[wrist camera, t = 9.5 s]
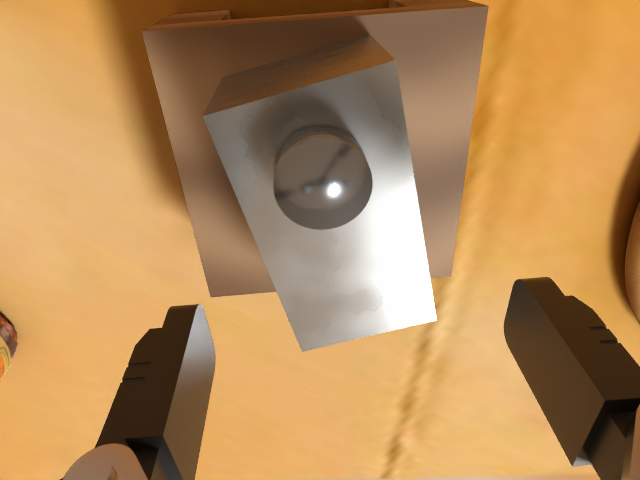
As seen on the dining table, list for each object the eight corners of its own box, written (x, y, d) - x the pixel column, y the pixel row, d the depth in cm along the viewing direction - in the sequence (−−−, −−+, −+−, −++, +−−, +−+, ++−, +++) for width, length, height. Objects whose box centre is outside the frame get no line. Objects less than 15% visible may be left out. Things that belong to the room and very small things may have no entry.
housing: (409, 254, 21) (446, 343, 16) (299, 281, 21) (303, 375, 17) (369, 33, 15) (406, 70, 11) (222, 77, 16) (194, 130, 11)
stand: (172, 14, 19) (141, 31, 15) (445, -6, 19) (488, 6, 15) (223, 241, 26) (210, 297, 22) (424, 224, 26) (450, 276, 22)
